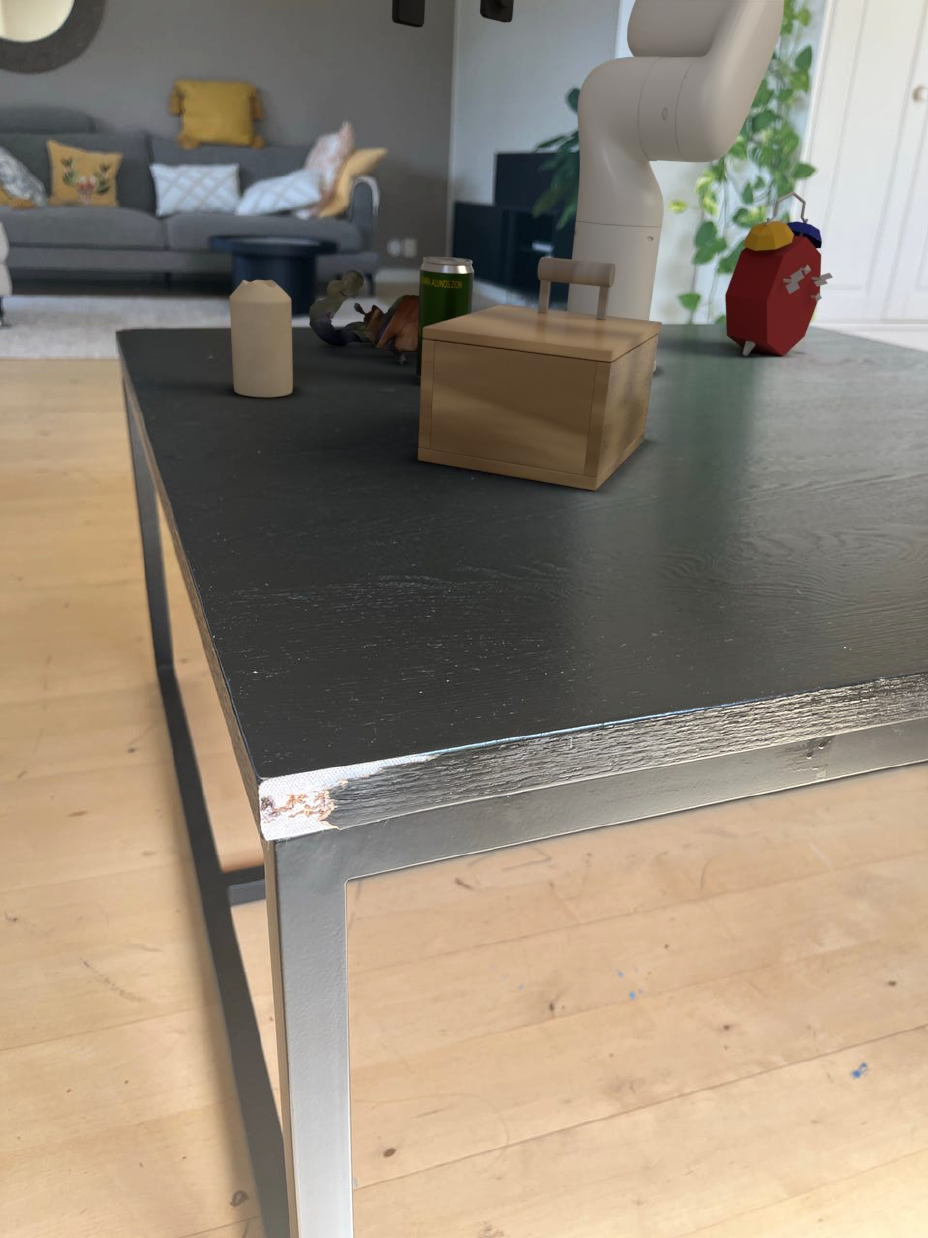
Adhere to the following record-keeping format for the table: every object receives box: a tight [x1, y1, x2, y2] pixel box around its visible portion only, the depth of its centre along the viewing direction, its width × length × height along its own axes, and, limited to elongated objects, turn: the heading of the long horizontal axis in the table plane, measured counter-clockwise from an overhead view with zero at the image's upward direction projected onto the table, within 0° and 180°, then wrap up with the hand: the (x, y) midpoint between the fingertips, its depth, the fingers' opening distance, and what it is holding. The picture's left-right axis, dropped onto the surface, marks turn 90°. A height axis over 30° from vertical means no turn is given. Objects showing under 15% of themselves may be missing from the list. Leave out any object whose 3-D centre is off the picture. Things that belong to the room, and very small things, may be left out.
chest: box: [417, 333, 659, 492], centre depth 75 cm, size 16×14×9 cm
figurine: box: [308, 269, 419, 365], centre depth 110 cm, size 15×9×13 cm
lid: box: [423, 256, 663, 362], centre depth 72 cm, size 17×14×5 cm
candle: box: [229, 279, 294, 398], centre depth 88 cm, size 6×6×10 cm
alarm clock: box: [724, 190, 834, 357], centre depth 124 cm, size 15×9×20 cm, turn 136°
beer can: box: [415, 256, 475, 383], centre depth 97 cm, size 5×5×12 cm
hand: (450, 22), depth 76 cm, fingers open, 9 cm apart
